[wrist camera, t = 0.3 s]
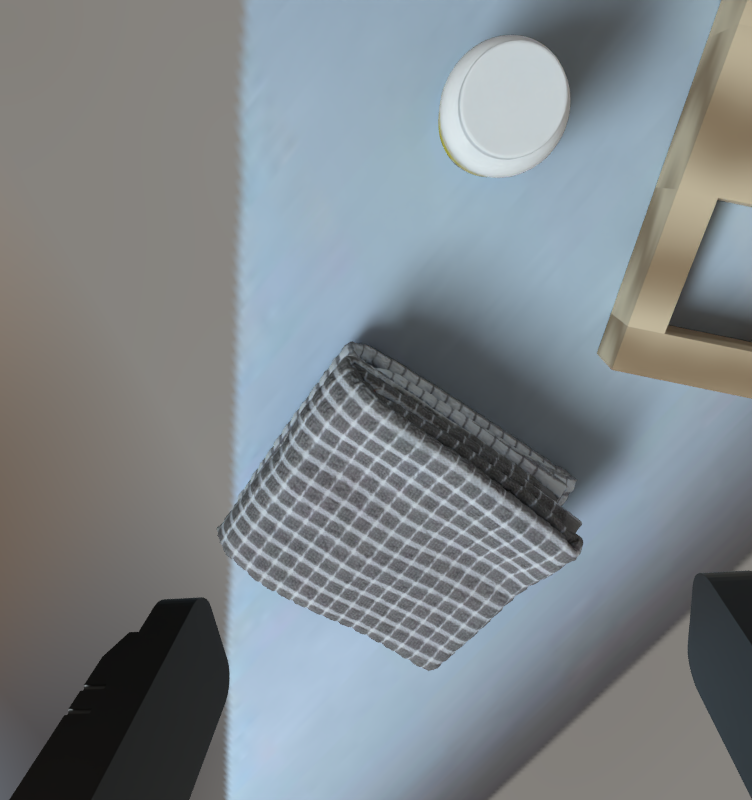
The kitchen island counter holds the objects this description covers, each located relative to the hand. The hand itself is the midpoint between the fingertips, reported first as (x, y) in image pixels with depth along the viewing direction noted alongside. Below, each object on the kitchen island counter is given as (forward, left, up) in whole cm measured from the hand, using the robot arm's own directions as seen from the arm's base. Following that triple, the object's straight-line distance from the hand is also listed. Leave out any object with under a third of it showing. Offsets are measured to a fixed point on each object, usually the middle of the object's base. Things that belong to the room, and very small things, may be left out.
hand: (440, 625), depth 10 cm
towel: (+13, +1, -27) cm, 30 cm away
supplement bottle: (-10, +1, -27) cm, 28 cm away
